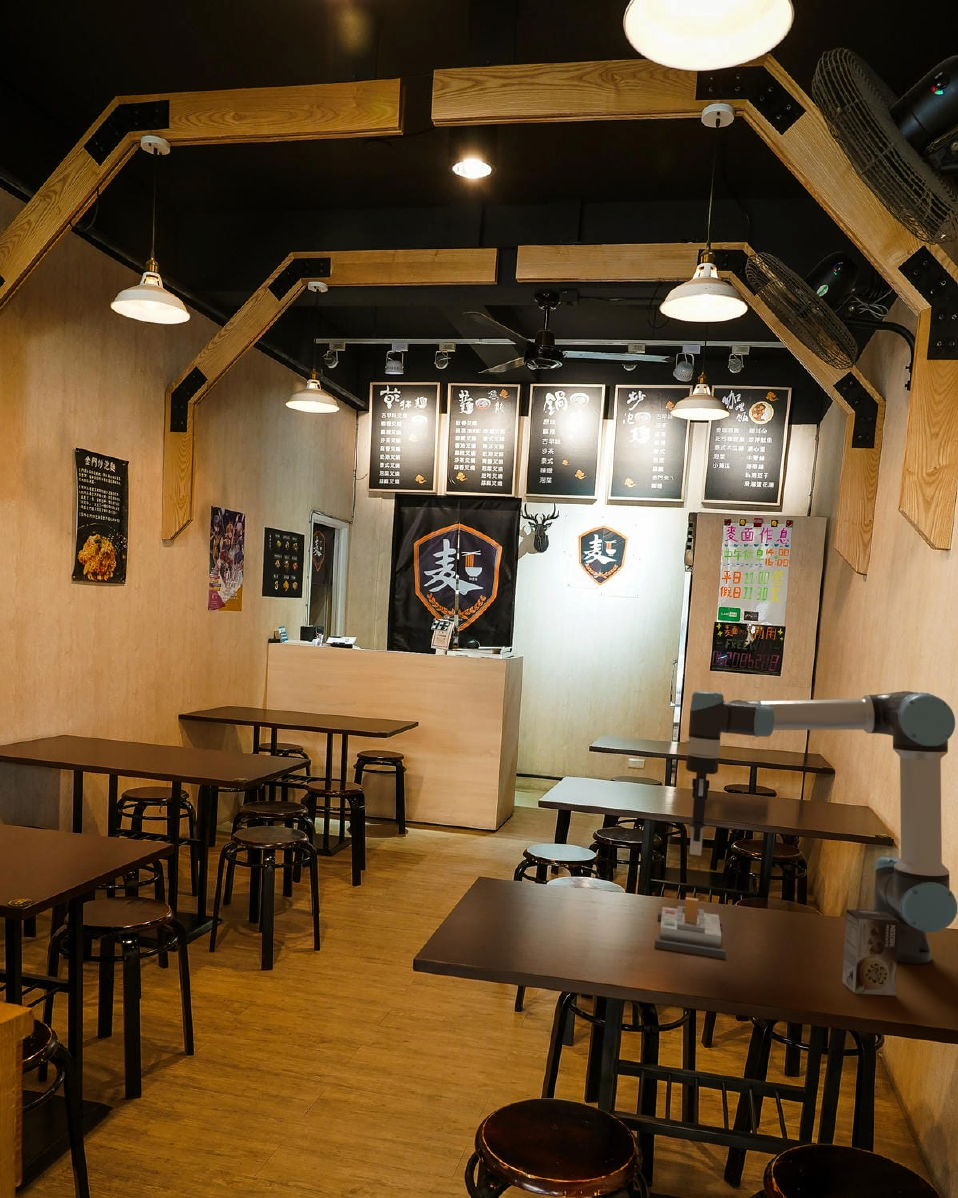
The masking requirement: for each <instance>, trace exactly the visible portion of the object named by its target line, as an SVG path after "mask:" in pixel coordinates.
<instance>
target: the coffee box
mask: <svg viewBox="0 0 958 1198" xmlns="http://www.w3.org/2000/svg"><path fill="white" fill-rule="evenodd" d="M845 913H846V914H845V930H844V931H845V932H844V933H845V934H844V947H843V948H844V949H843V951H844V952H843V964H842V965H843V967H842V968H843V969H842V980H841V981H842V984H843V985H844V986H846V987H847V989H849V990H850V991H852V992H853V994H859V995H860V994H861V995H862V994H863V995H875V996H876V995H880V996H896V995H897V994H896V993H897V991H896V990H897V972H898V971H897V969H898V968H897V966H898V961H897V951H898V928H899V920H897V919H895V918H894V917H893V916H891V915H890V914H888V913H887V912H881V911H873V910H865V909H862V910H861V909H849V908H848V909H846V912H845Z"/></svg>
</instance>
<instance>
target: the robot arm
mask: <svg viewBox="0 0 958 1198" xmlns="http://www.w3.org/2000/svg"><path fill="white" fill-rule="evenodd" d="M688 723H689V724H688V739H686V740H685V742H684V743H685V744H686V745H687V752H688V754H687V756H686V761H685V762H686V763H685V769H686V771H687V772H692V773H696V777H695V778H693V777H692V780H691V784H692V785H691V786H692V798H693V805H692V806H693V807H692V817H691V820H692V821H691V823H689V825H688V827H690V842H689V843H690V844H689V855H692V856H693V855H695V856H700V857H701V856H702V851H703V850H702V849H703V838H704V837H703V836H704V835H703V834H704V827H706V826H707V824H706V823H704V822H705V821H704V820H705V809H706V800H708V792H709V788H710V780H709V779H707V775H716V774H718V773H719V760H720V759H718V758H717V757H718V756H720V753H721V752H720V751H721V735H722V734H721V733H723V734H732V735H734V734H735V735H743V736H753V737H756V738H758V737H763V738H768V737H770V736H771V735H772V734H773V731H817V730H818V731H821V730H822V731H828V730H829V731H831V730H832V731H833V730H834V731H838V730H840V731H841V730H843V731H844V730H849V731H851V730H852V731H853V730H863V731H864V732H865V733H866V734H880V735H888V736H892V751H894V752H895V753H896V754H897V755H898V757H899V775H900V776H899V778H900V779H899V783H900V786H899V788H900V795H899V796H900V797H899V798H900V799H899V800H900V801H899V802H900V805H899V806H900V807H899V808H900V858H897V857H889V856H881V857H879V858H877V860H876V865H875V868H874V872H875V875H874V877H875V878H874V894H873V895H874V897H873V909H872V911H881V912H887V913H888V914H890V915H891V916H893V917H894V918H895V919H897V920H899V928H898V951H897V963H898V962H899V963H906V964H912V965H913V964H915V965H918V964H919V965H920V964H921V965H922V964H927V963H930V962H931V960H932V948H931V945H930V941H929V937H928V934H927V933H937V932H941V931H943V930H945V929H947V928H948V927H949V926H950V925H951V924H952V923H953V922H954V920H955V919H956V917H957V914H958V902H957V899H956V897H955V895H954V893H953V891H951V888H950V887H951V886H950V871H949V869H948V868H947V867H946V866H945V864H943V859H942V857H943V853H942V852H943V849H942V843H943V842H942V769H941V767H942V765H941V763H942V762H941V761H942V758H943V757H944V756H946V755H947V754H948V753H949V739H950V738H951V737H952V735H953V734H954V731H955V728H956V718H955V715H954V712H953V709H952V708H951V706H950V705H949V704H948V703H947V702H946V701H945V700H943V699H942V698H940V697H938V696H936V695H934V694H931V693H929V692H916V691H914V692H913V691H905V690H903V691H896V692H889V693H879V694H865V695H863V697H862V698H857V699H856V698H849V699H842V698H841V699H792V700H791V699H788V700H787V699H785V700H779V699H777V700H741V699H733V700H731V701H725V699H724V694H722V693H720V692H713V691H702V690H696V691H694V692H693V693H692V695H691V702H690V708H689V721H688Z"/></svg>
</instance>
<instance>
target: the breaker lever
mask: <svg viewBox="0 0 958 1198" xmlns="http://www.w3.org/2000/svg"><path fill="white" fill-rule="evenodd" d="M684 905H685V906H684V907H685V916H684V920H689V921H695V922H697V914H698V909H699V898H695V897H688V896H686V897H685V904H684Z"/></svg>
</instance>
